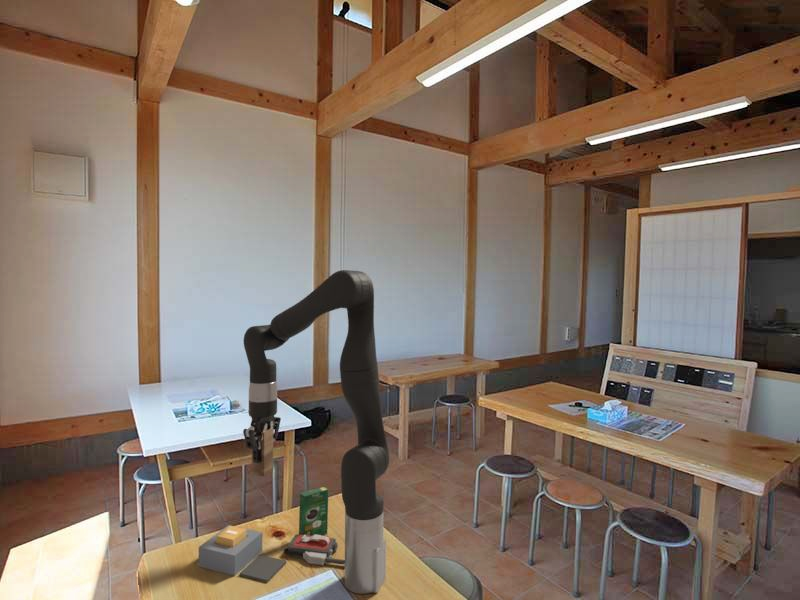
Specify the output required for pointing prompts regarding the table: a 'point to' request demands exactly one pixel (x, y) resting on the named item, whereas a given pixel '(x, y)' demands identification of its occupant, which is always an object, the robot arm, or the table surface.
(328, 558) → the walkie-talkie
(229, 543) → the button
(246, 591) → the table surface
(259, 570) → the mat
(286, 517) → the table surface
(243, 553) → the box
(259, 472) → the tall cardboard-brown rectangular prism
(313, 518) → the coffee box
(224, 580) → the table surface
